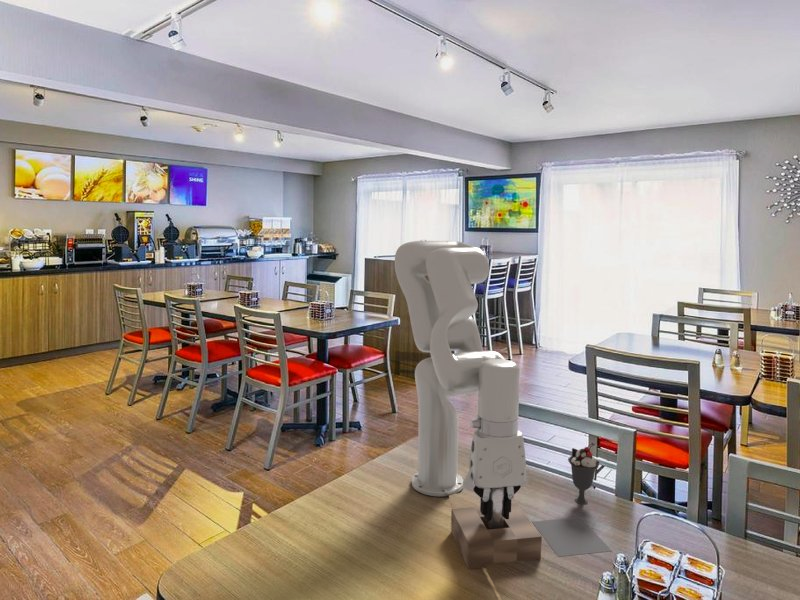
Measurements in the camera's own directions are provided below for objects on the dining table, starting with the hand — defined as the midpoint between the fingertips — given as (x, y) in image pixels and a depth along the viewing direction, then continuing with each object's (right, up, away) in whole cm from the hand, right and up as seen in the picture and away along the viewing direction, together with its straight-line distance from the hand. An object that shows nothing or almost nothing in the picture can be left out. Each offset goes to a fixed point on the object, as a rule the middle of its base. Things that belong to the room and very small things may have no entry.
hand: (495, 515), depth 101 cm
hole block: (0, -6, +1) cm, 7 cm away
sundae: (+23, -5, +17) cm, 29 cm away
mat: (+16, -6, +4) cm, 17 cm away
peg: (0, -3, 0) cm, 3 cm away
